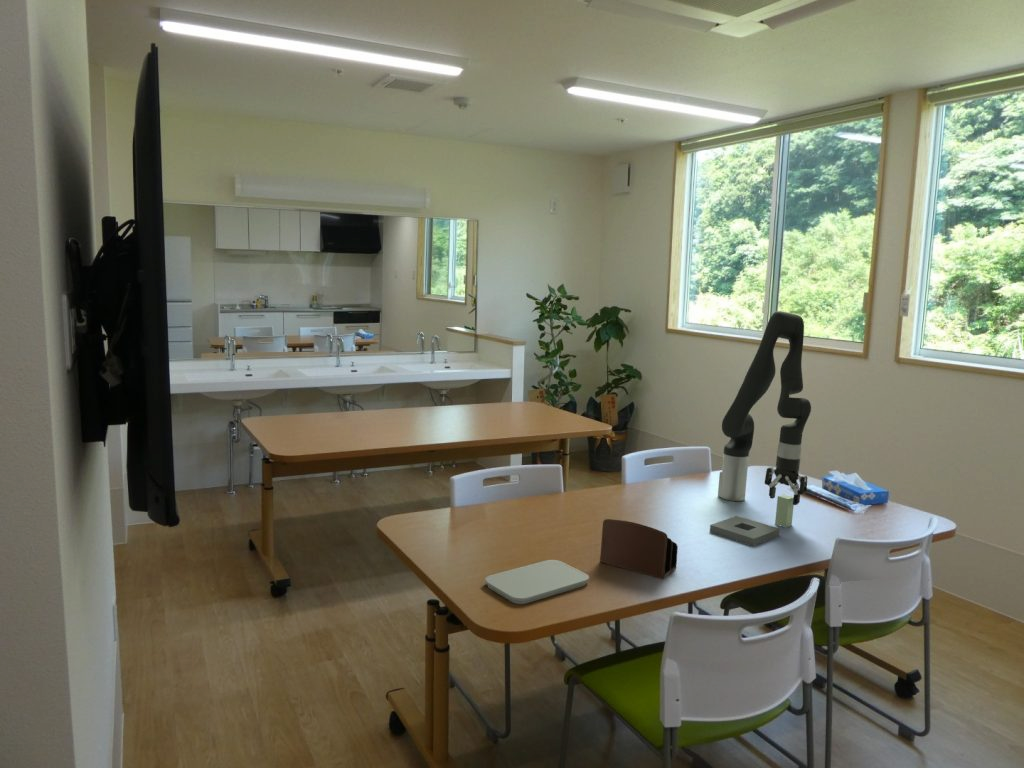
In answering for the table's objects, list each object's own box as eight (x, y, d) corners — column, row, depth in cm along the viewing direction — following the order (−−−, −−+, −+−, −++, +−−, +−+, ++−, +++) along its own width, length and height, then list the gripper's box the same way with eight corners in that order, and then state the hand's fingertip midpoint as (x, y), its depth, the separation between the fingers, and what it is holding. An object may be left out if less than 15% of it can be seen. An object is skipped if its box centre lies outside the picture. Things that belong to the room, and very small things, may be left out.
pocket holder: (709, 532, 246) (710, 524, 246) (736, 522, 257) (736, 515, 257) (753, 546, 235) (754, 538, 234) (779, 535, 245) (779, 528, 245)
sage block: (775, 524, 257) (777, 496, 256) (780, 522, 260) (783, 494, 258) (785, 527, 254) (788, 499, 253) (791, 525, 257) (794, 497, 255)
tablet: (480, 586, 198) (480, 577, 198) (554, 565, 214) (554, 558, 214) (517, 609, 186) (518, 600, 185) (593, 585, 201) (593, 577, 201)
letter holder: (663, 580, 206) (667, 531, 204) (599, 562, 217) (601, 516, 215) (676, 569, 214) (680, 522, 212) (614, 552, 225) (616, 508, 223)
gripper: (814, 458, 250) (808, 505, 253) (775, 449, 261) (770, 494, 263) (802, 461, 245) (797, 509, 248) (763, 452, 256) (759, 497, 259)
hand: (783, 501), depth 256 cm, fingers open, 8 cm apart
